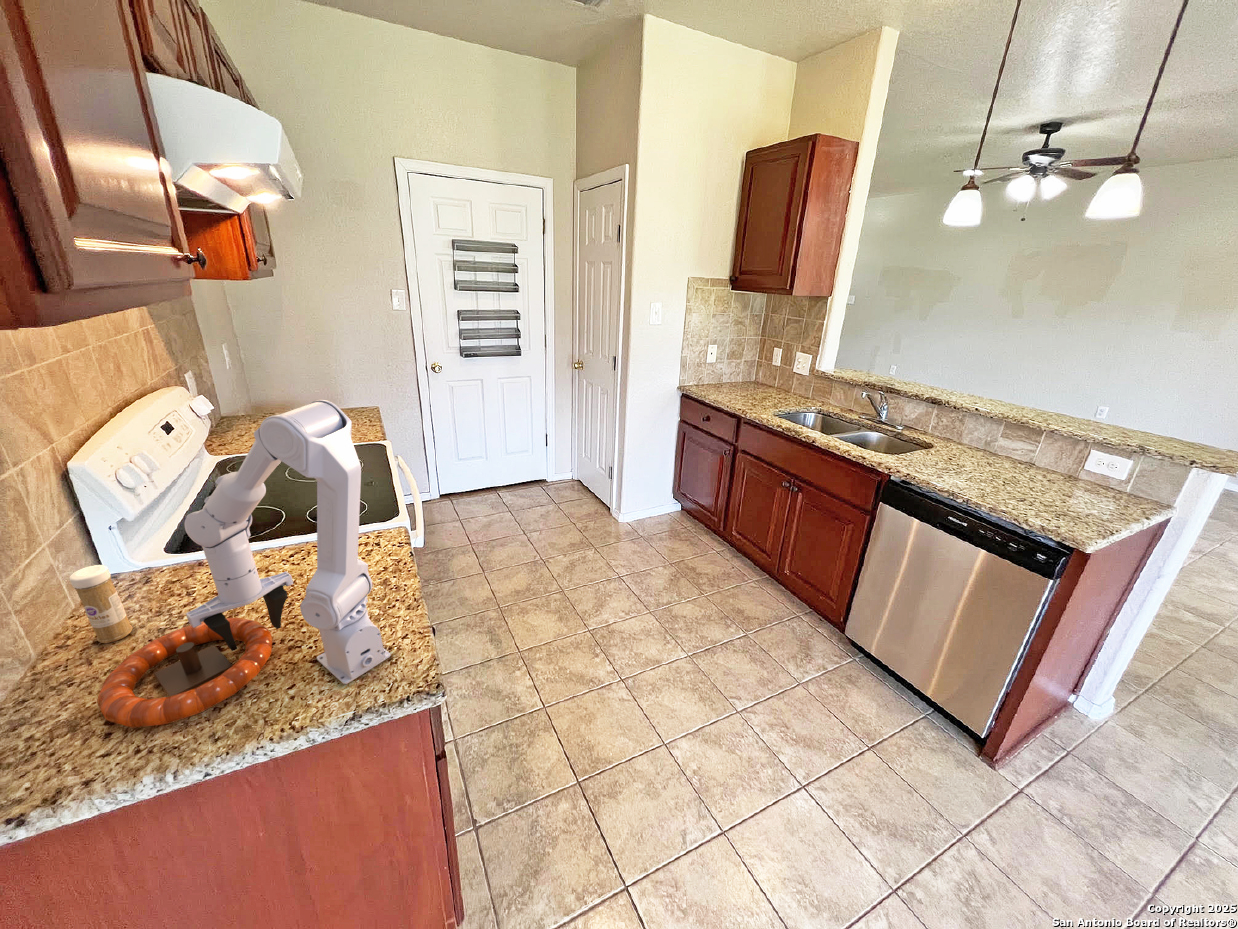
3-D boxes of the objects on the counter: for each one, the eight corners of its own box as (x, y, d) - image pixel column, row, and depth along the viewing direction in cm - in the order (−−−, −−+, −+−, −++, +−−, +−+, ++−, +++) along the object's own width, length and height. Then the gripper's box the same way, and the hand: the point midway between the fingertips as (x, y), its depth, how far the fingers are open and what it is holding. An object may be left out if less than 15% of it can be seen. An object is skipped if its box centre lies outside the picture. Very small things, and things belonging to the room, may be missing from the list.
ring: (296, 664, 82) (292, 647, 80) (126, 760, 66) (116, 741, 64) (244, 614, 93) (239, 599, 92) (87, 685, 77) (79, 667, 75)
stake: (234, 671, 80) (225, 643, 78) (172, 703, 74) (160, 674, 72) (215, 649, 84) (206, 623, 82) (155, 678, 78) (143, 650, 76)
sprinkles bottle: (91, 646, 84) (60, 581, 79) (108, 629, 88) (79, 565, 83) (124, 641, 86) (96, 576, 81) (139, 624, 90) (113, 562, 85)
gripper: (273, 544, 88) (289, 606, 93) (170, 583, 77) (195, 650, 82) (291, 557, 84) (307, 621, 89) (185, 600, 73) (211, 669, 78)
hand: (255, 636), depth 85 cm, fingers open, 6 cm apart
